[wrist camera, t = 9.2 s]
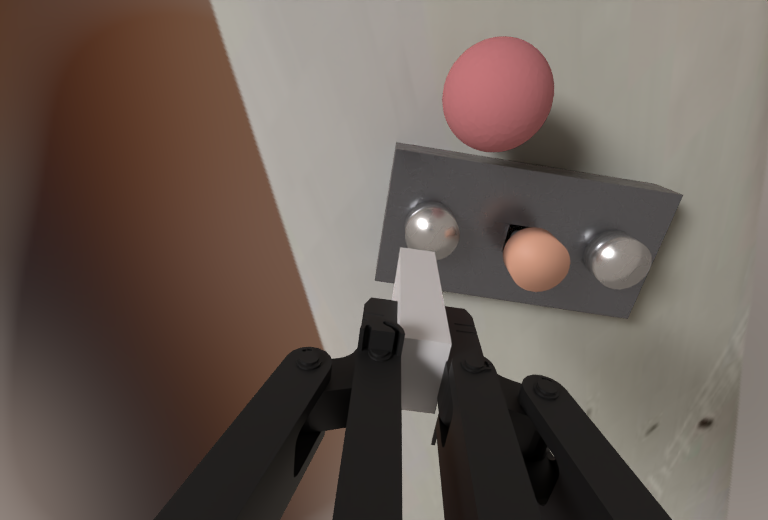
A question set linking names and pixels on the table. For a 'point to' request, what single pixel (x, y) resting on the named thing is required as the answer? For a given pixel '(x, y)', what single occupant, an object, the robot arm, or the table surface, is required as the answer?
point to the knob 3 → (617, 259)
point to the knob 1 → (432, 229)
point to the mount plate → (521, 222)
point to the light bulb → (498, 94)
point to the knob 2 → (536, 259)
